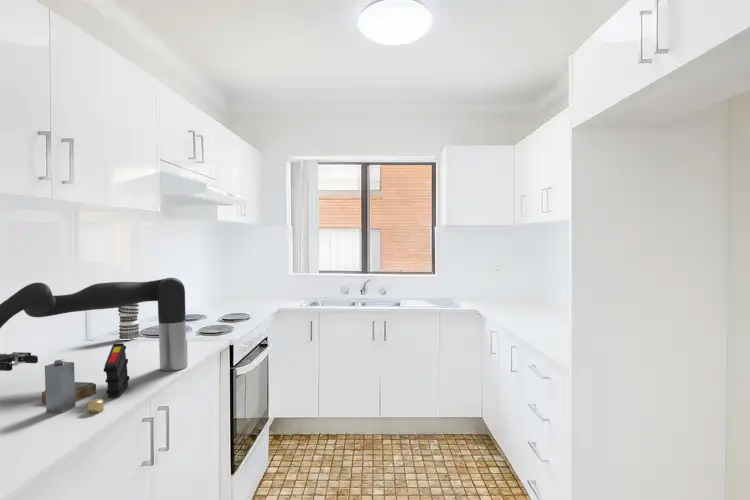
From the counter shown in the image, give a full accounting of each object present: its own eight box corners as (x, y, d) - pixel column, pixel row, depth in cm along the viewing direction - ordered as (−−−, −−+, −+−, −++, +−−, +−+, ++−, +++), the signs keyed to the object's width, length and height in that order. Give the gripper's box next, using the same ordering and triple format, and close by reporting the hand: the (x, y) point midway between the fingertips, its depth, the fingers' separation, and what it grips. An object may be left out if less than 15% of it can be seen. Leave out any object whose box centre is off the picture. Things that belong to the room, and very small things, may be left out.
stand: (68, 391, 160) (67, 381, 160) (96, 393, 159) (95, 382, 158) (42, 402, 150) (41, 390, 150) (71, 403, 149) (71, 392, 149)
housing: (60, 406, 146) (58, 358, 146) (75, 407, 146) (73, 358, 145) (46, 412, 142) (44, 362, 141) (61, 413, 141) (60, 363, 140)
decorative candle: (115, 339, 242) (113, 287, 241) (134, 336, 249) (133, 285, 248) (123, 342, 236) (121, 288, 235) (143, 338, 243) (141, 286, 242)
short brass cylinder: (94, 409, 144) (94, 398, 144) (106, 409, 143) (106, 399, 143) (83, 414, 140) (83, 403, 140) (96, 414, 139) (96, 403, 139)
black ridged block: (131, 379, 167) (125, 342, 161) (122, 408, 156) (114, 370, 149) (119, 380, 167) (112, 343, 160) (109, 409, 155) (101, 370, 148)
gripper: (-1, 367, 155) (45, 369, 152) (-48, 380, 141) (2, 383, 138) (-2, 343, 155) (44, 344, 152) (-49, 353, 141) (1, 355, 138)
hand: (24, 363), depth 145 cm, fingers open, 8 cm apart
